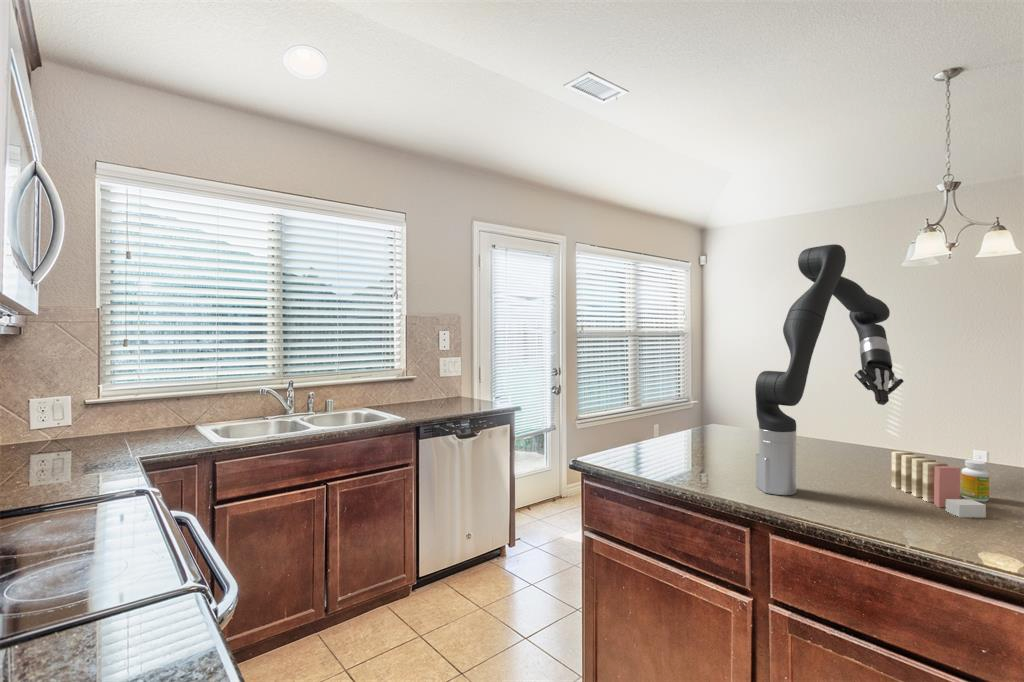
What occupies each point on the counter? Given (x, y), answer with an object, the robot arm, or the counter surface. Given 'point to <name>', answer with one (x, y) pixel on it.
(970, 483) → the supplement bottle
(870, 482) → the counter surface
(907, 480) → the domino
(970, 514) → the block
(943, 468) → the domino
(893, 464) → the domino
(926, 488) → the domino
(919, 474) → the domino
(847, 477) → the counter surface
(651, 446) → the counter surface
